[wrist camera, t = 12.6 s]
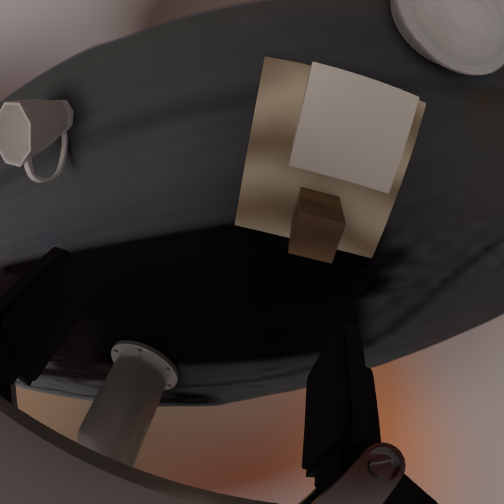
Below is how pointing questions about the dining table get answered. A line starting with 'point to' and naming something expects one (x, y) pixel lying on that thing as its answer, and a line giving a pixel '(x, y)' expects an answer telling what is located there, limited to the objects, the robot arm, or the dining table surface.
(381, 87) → the matte grey cube
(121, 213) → the dining table surface
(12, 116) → the cup
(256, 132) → the post board
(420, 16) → the ramekin
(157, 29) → the dining table surface
